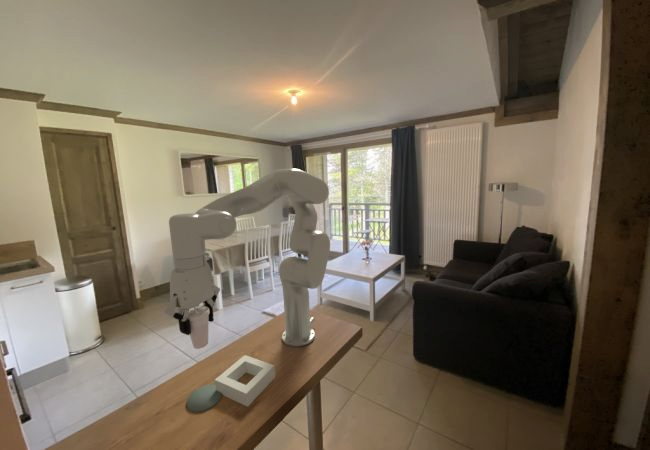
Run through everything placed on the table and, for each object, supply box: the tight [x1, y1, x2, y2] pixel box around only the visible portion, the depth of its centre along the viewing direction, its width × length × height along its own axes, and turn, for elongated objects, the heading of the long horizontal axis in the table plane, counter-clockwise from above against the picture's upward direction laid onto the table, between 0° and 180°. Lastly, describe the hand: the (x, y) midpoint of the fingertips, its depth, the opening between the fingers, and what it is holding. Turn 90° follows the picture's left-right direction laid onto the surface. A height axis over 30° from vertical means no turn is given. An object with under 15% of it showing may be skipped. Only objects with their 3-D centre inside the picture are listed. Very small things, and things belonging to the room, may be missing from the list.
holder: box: [214, 354, 276, 408], centre depth 79 cm, size 12×12×4 cm
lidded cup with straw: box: [187, 305, 210, 349], centre depth 71 cm, size 6×6×14 cm
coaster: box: [186, 383, 223, 413], centre depth 75 cm, size 9×9×1 cm
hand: (197, 326), depth 71 cm, fingers closed on lidded cup with straw, 6 cm apart
